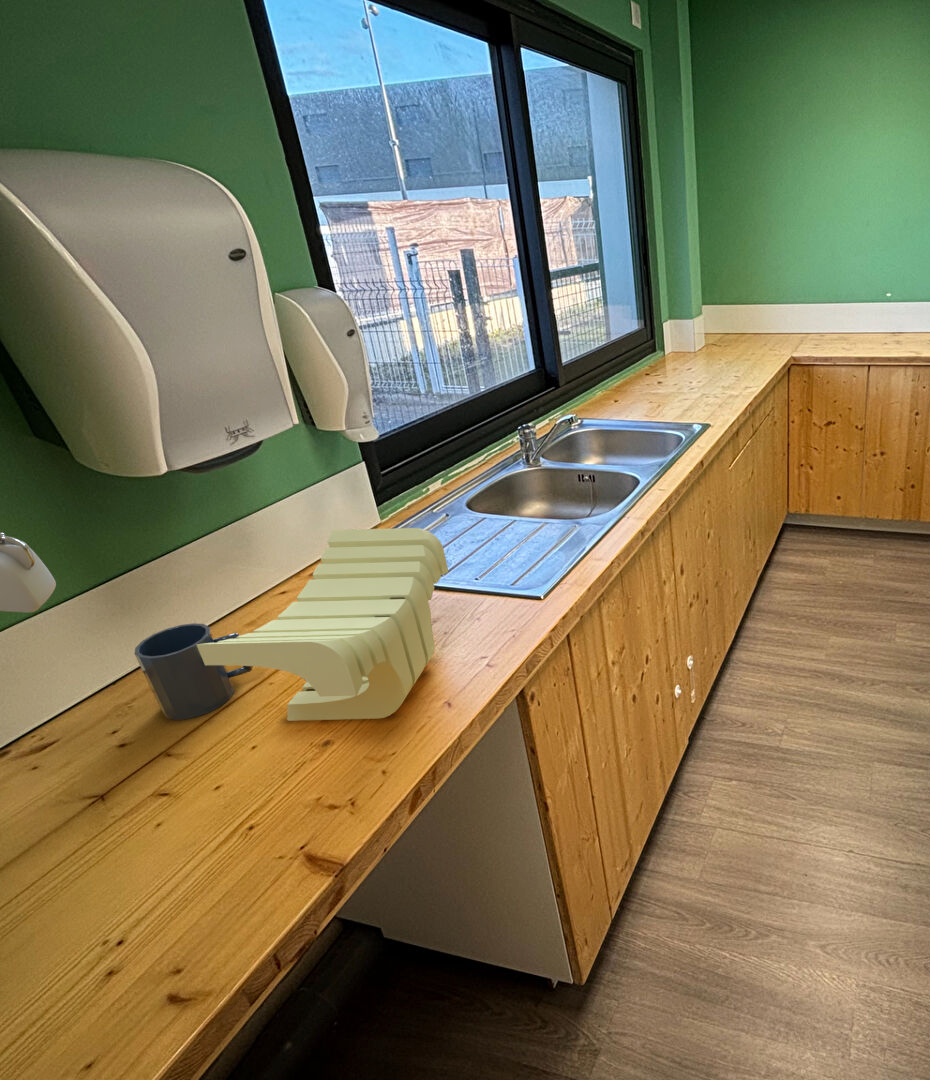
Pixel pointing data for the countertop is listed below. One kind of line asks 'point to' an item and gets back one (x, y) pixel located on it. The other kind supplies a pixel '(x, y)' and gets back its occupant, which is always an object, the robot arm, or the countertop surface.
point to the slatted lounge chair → (351, 626)
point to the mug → (185, 671)
